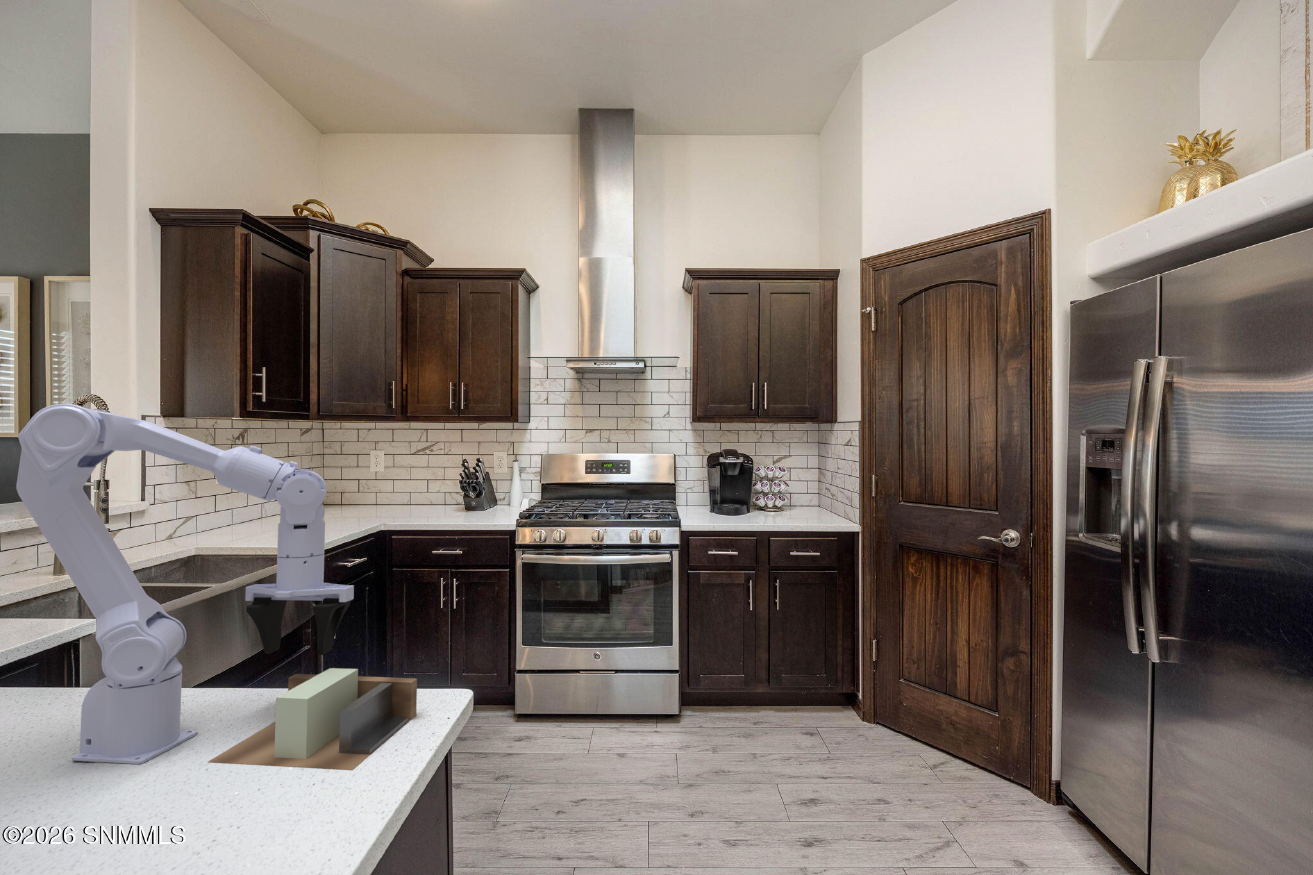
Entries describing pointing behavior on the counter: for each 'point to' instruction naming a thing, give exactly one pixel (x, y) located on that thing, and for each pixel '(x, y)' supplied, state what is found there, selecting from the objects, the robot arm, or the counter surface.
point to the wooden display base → (328, 757)
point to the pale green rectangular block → (313, 712)
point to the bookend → (368, 721)
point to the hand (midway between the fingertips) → (298, 652)
